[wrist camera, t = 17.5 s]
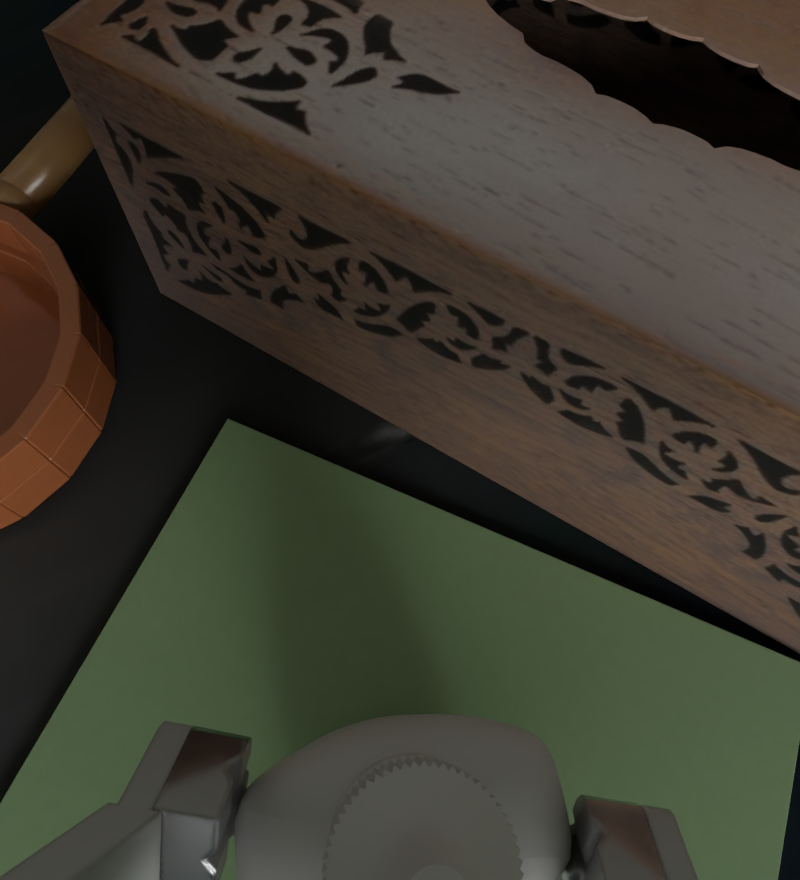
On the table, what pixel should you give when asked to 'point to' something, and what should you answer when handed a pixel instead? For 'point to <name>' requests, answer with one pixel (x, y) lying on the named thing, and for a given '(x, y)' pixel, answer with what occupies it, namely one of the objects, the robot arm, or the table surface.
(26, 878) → the robot arm
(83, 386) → the pan
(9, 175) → the pan handle
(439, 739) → the eye dropper bottle
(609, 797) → the napkin
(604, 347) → the tissue box cover
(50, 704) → the table surface
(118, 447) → the table surface
